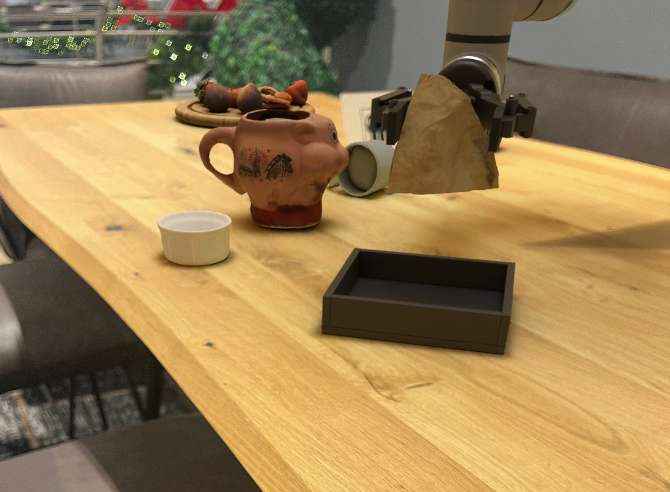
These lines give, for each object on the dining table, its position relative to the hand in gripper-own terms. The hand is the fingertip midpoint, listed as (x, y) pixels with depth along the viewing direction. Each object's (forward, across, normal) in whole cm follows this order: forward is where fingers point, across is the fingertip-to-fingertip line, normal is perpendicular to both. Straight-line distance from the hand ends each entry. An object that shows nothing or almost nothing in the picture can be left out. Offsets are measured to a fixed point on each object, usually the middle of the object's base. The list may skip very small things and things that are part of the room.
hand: (442, 131), depth 67 cm
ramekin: (-13, +29, -18) cm, 37 cm away
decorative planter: (-30, +24, -18) cm, 43 cm away
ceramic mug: (-51, +17, -18) cm, 57 cm away
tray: (-2, 0, -18) cm, 18 cm away
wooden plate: (-110, +55, -18) cm, 124 cm away
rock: (-5, 0, -6) cm, 8 cm away
